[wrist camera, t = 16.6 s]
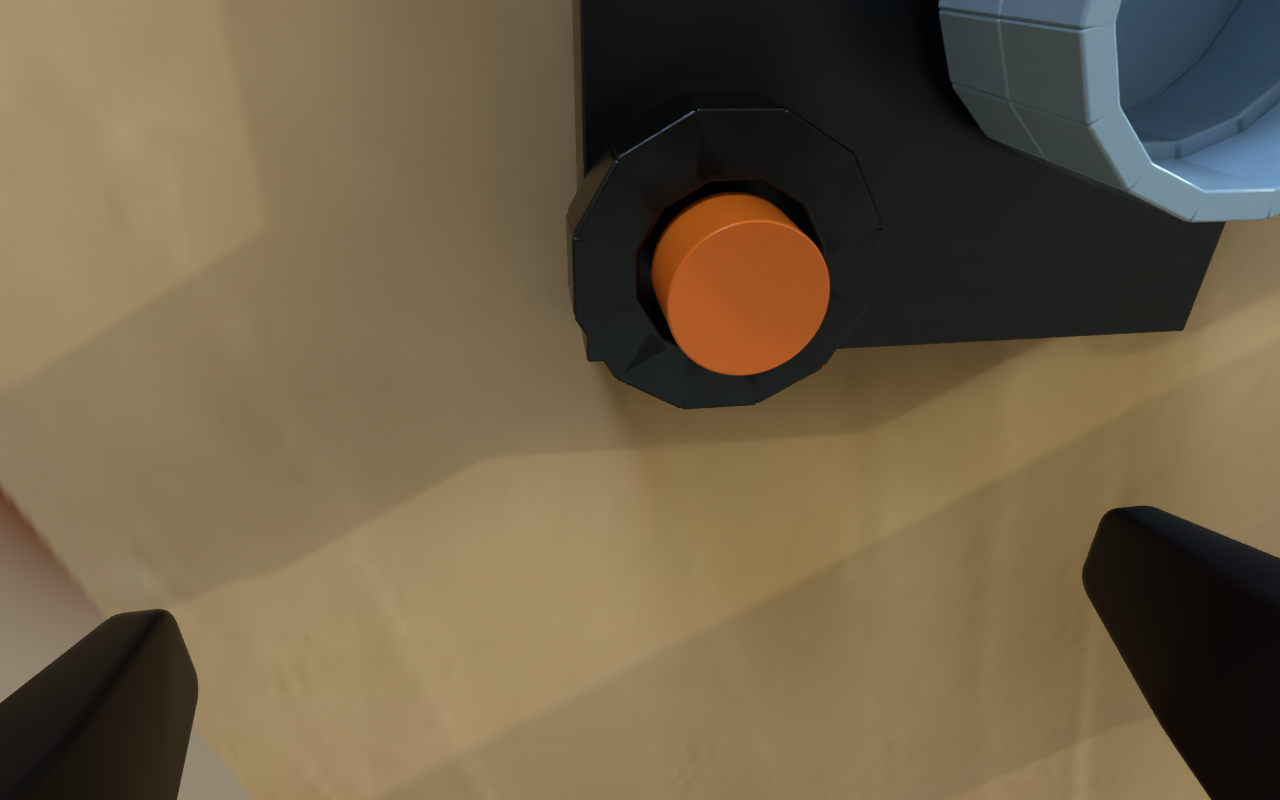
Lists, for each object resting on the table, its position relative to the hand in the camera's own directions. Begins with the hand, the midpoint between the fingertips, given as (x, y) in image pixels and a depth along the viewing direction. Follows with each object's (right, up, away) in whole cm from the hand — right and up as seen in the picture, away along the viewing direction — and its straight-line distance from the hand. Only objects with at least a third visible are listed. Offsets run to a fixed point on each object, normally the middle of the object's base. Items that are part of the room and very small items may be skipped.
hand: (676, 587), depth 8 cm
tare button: (+1, +4, +7) cm, 8 cm away
